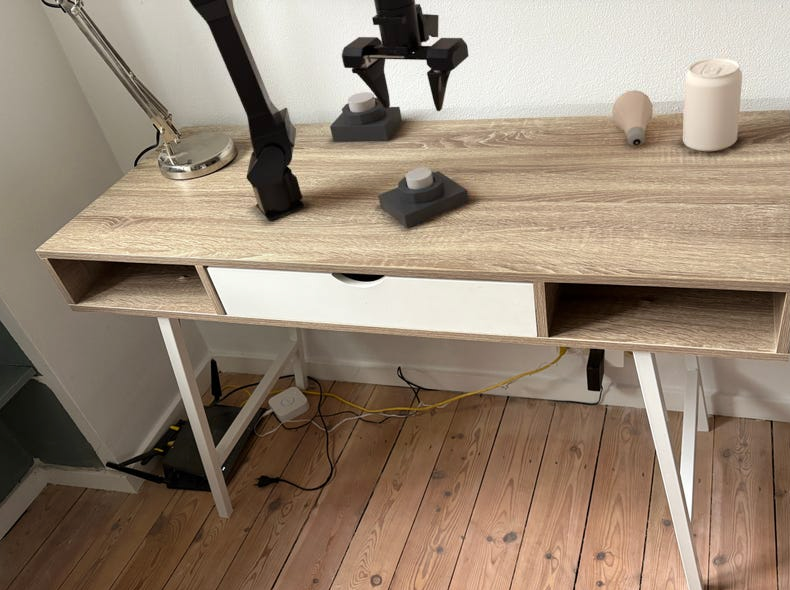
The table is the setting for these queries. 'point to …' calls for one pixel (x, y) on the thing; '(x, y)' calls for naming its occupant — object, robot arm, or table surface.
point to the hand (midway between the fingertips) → (413, 108)
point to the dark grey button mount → (366, 124)
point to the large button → (361, 102)
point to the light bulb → (633, 115)
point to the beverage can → (712, 104)
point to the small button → (419, 178)
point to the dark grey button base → (423, 200)
